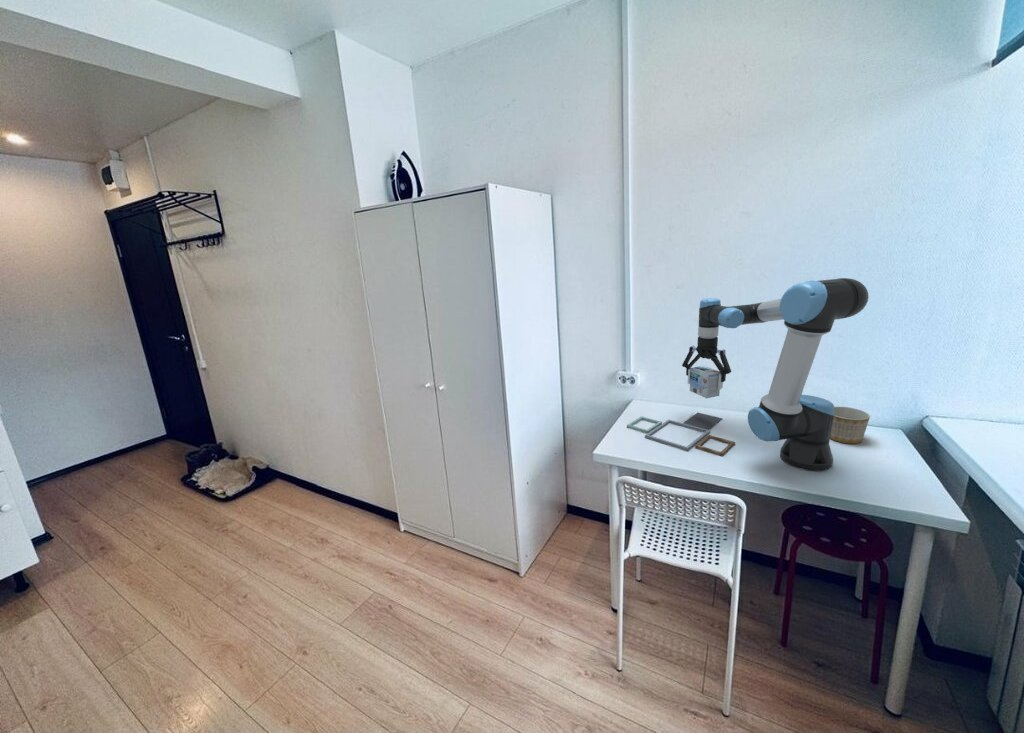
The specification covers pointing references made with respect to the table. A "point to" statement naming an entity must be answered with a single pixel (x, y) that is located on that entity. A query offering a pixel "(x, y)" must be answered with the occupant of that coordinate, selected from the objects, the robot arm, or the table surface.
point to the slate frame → (649, 436)
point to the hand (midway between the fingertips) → (704, 385)
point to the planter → (849, 425)
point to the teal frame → (657, 423)
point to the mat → (703, 421)
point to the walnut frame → (723, 452)
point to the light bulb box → (704, 381)
